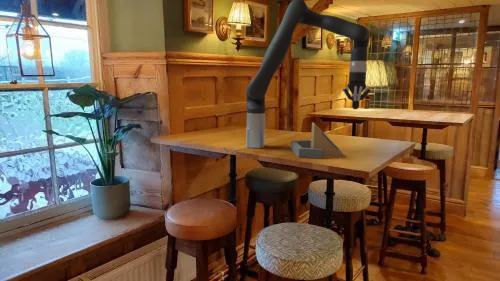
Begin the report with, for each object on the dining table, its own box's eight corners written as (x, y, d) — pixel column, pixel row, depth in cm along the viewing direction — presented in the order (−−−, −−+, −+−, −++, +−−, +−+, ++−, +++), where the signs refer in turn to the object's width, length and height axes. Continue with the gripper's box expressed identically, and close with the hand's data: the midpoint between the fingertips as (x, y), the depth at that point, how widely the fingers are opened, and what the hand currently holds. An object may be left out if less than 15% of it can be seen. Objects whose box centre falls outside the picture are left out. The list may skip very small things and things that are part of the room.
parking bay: (299, 158, 157) (300, 149, 157) (289, 147, 181) (289, 139, 180) (323, 158, 158) (323, 149, 158) (309, 147, 182) (310, 139, 181)
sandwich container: (347, 158, 161) (349, 124, 158) (312, 157, 161) (314, 124, 159) (343, 153, 169) (345, 122, 166) (310, 153, 170) (311, 121, 167)
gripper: (368, 71, 169) (365, 108, 172) (341, 71, 168) (338, 108, 171) (375, 71, 161) (372, 110, 164) (346, 71, 160) (344, 109, 163)
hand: (355, 109), depth 168 cm, fingers closed
